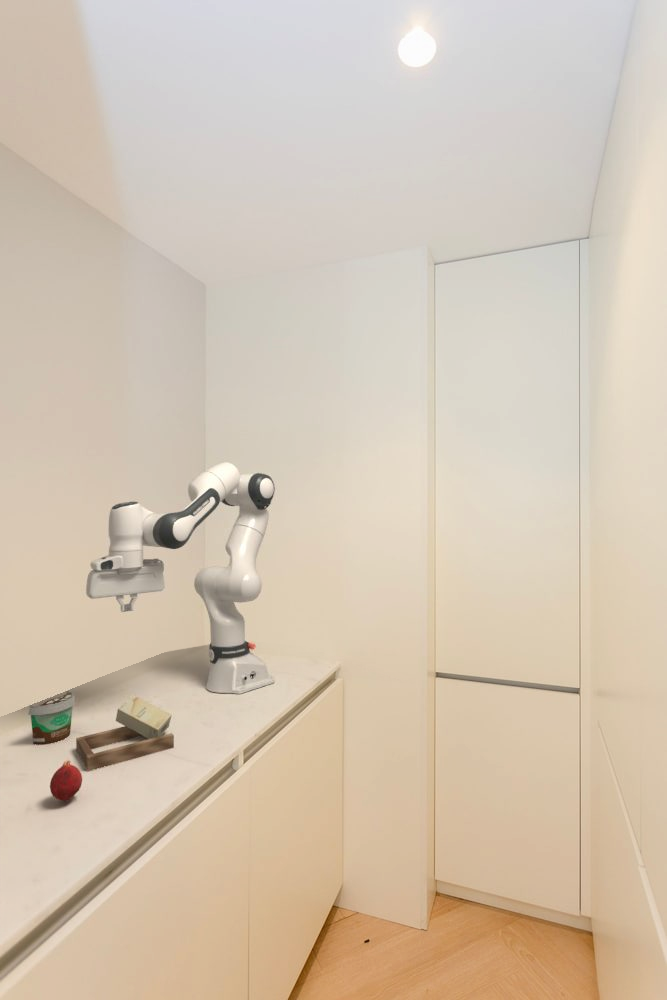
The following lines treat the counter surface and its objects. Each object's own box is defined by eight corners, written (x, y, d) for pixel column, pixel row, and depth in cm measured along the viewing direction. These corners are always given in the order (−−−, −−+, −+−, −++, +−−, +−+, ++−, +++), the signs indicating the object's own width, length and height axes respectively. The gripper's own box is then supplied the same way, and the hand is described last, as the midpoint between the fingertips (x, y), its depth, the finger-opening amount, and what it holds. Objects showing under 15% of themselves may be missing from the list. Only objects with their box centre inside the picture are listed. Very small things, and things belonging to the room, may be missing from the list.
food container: (46, 750, 130) (46, 709, 131) (28, 746, 133) (28, 706, 133) (86, 730, 142) (86, 692, 142) (68, 727, 144) (68, 690, 144)
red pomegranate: (79, 806, 106) (79, 765, 106) (47, 811, 104) (46, 770, 104) (84, 791, 111) (84, 752, 111) (53, 796, 110) (53, 756, 110)
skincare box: (158, 730, 133) (117, 708, 135) (155, 743, 134) (114, 721, 137) (172, 713, 138) (132, 693, 141) (169, 726, 140) (130, 706, 142)
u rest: (156, 730, 142) (156, 718, 142) (173, 747, 131) (173, 735, 131) (76, 750, 130) (76, 738, 130) (88, 771, 120) (88, 757, 120)
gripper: (159, 557, 156) (160, 604, 156) (84, 562, 144) (85, 614, 144) (167, 558, 151) (168, 607, 151) (89, 564, 139) (90, 618, 139)
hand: (127, 611), depth 147 cm, fingers closed
